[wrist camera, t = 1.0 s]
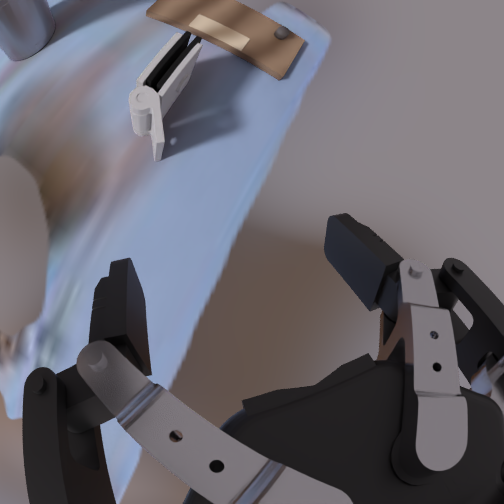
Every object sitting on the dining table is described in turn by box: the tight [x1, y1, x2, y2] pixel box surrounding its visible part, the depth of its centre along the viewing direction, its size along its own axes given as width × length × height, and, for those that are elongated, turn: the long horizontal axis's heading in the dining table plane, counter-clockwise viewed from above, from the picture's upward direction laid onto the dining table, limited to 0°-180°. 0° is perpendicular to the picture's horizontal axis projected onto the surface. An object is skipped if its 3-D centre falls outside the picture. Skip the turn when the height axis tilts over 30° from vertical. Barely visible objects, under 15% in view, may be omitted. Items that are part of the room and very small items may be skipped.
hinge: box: [129, 31, 203, 162], centre depth 27 cm, size 14×5×10 cm, turn 164°
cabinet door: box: [146, 0, 305, 80], centre depth 31 cm, size 24×10×3 cm, turn 63°
